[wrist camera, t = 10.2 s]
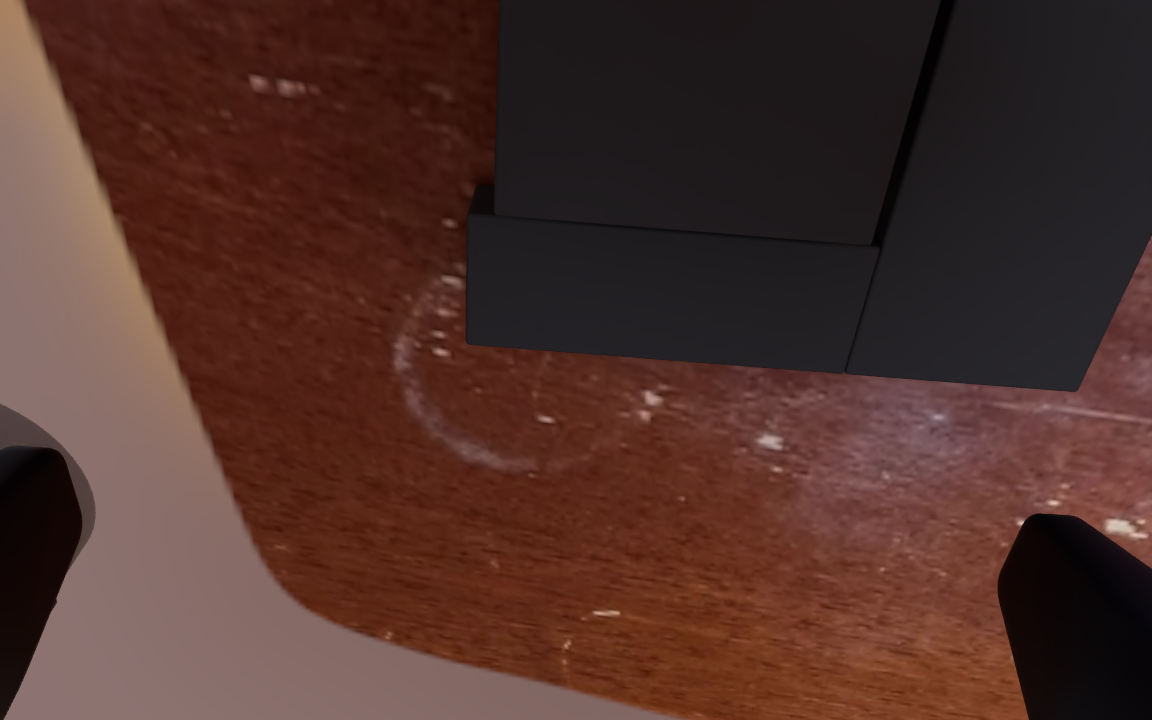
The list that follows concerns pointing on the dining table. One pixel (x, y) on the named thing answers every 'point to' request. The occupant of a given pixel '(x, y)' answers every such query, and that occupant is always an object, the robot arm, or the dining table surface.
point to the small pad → (706, 112)
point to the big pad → (889, 230)
